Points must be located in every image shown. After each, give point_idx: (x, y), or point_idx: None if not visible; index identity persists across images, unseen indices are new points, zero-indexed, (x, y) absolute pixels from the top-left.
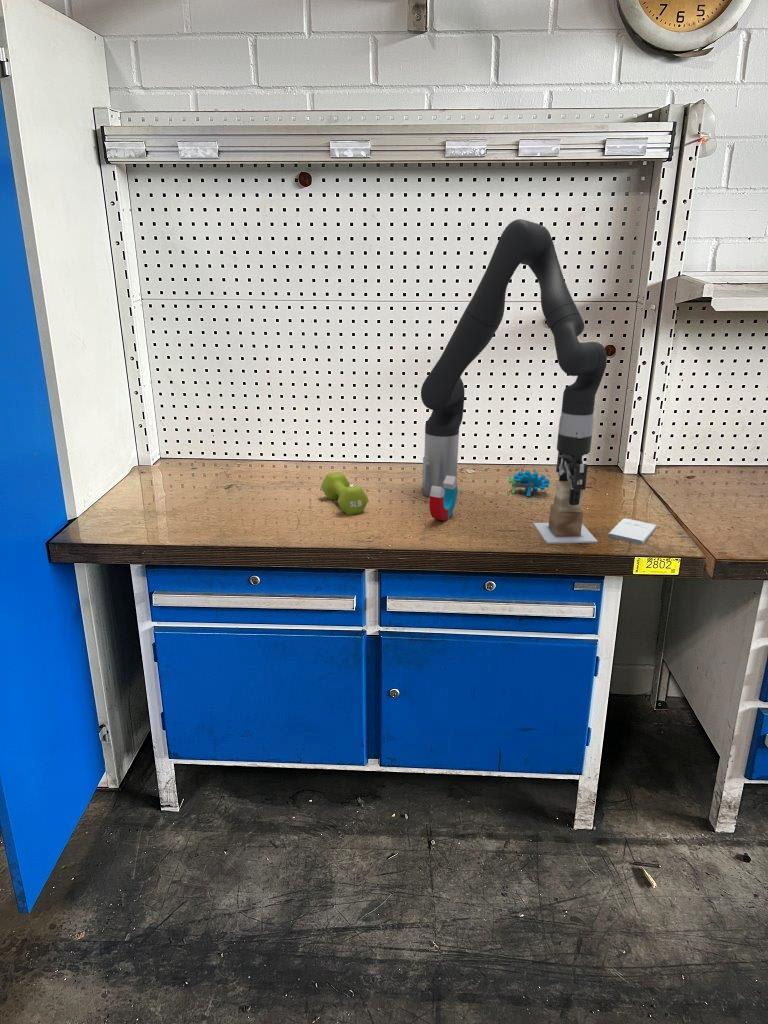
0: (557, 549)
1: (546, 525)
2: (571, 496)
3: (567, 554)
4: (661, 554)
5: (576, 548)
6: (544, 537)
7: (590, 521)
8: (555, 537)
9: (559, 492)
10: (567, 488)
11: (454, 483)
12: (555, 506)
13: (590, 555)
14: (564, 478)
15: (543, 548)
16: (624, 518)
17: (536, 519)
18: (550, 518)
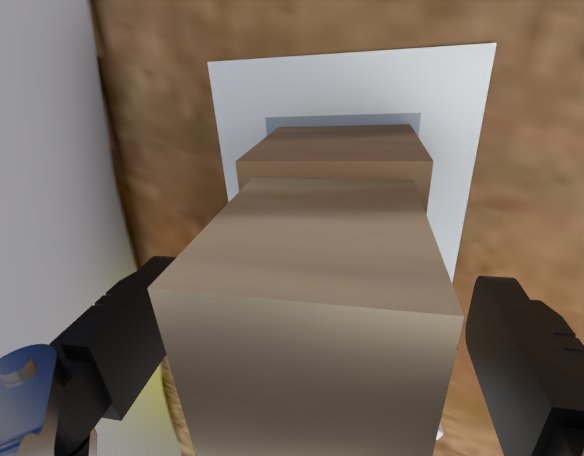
0: (154, 98)
1: (436, 118)
2: (114, 302)
3: (113, 128)
4: (176, 392)
5: (178, 183)
6: (263, 61)
7: (465, 333)
8: (266, 122)
9: (266, 244)
10: (168, 336)
11: None
12: (364, 180)
13: (125, 212)
14: (528, 450)
15: (152, 27)
16: (437, 436)
17: (576, 86)
18: (394, 136)
